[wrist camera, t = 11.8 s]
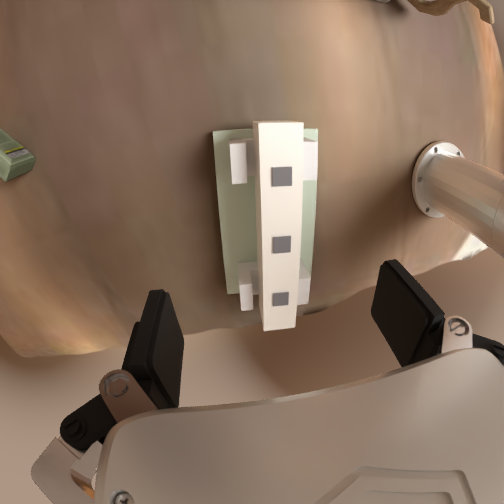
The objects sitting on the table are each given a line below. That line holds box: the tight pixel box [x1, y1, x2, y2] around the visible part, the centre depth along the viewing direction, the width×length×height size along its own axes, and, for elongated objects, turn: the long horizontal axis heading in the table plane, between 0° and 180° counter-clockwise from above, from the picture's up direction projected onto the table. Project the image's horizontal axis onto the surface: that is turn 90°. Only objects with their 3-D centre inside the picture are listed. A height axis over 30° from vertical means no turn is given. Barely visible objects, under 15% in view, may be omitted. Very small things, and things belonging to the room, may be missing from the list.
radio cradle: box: [213, 128, 318, 311], centre depth 33 cm, size 12×22×6 cm, turn 2°
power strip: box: [252, 121, 303, 331], centre depth 30 cm, size 4×24×5 cm, turn 2°
